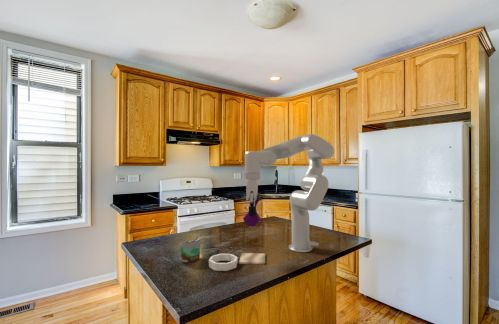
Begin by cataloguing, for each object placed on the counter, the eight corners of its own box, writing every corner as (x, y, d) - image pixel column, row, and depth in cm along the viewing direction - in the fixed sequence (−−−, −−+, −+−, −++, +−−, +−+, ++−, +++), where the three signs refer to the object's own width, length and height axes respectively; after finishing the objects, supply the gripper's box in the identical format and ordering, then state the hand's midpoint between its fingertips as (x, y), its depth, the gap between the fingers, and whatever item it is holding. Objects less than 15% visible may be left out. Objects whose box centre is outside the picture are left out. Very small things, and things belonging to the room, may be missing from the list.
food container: (189, 266, 115) (189, 244, 115) (179, 263, 119) (179, 242, 119) (207, 258, 126) (207, 237, 126) (198, 255, 129) (198, 235, 129)
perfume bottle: (260, 225, 127) (263, 188, 128) (257, 227, 119) (260, 189, 121) (245, 223, 128) (249, 187, 130) (242, 225, 121) (245, 187, 122)
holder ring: (238, 260, 123) (238, 254, 123) (235, 271, 110) (235, 264, 111) (212, 259, 124) (212, 253, 124) (206, 270, 111) (206, 263, 111)
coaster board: (265, 255, 130) (265, 253, 130) (264, 264, 118) (264, 262, 118) (241, 254, 131) (241, 252, 131) (239, 263, 119) (239, 262, 119)
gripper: (246, 175, 133) (246, 210, 133) (243, 177, 116) (243, 217, 116) (260, 175, 133) (260, 210, 133) (259, 177, 116) (259, 217, 115)
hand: (252, 213), depth 124 cm, fingers closed on perfume bottle, 5 cm apart
